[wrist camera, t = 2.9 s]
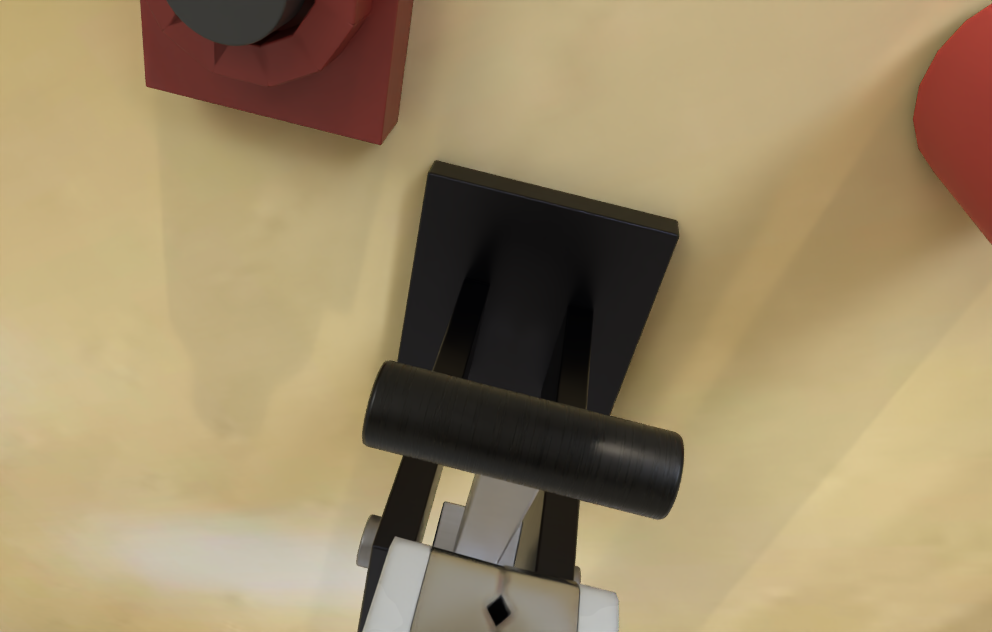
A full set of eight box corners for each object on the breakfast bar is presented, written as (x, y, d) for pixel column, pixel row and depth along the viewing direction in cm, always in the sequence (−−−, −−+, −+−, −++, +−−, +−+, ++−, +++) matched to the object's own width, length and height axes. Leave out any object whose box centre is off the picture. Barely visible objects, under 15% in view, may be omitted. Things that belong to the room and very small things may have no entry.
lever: (394, 318, 13) (348, 455, 11) (692, 393, 13) (678, 539, 11) (392, 515, 23) (369, 596, 22) (555, 556, 23) (540, 640, 22)
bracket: (434, 159, 28) (298, 410, 16) (678, 219, 28) (711, 514, 16) (394, 403, 35) (278, 700, 23) (589, 452, 34) (568, 774, 23)
